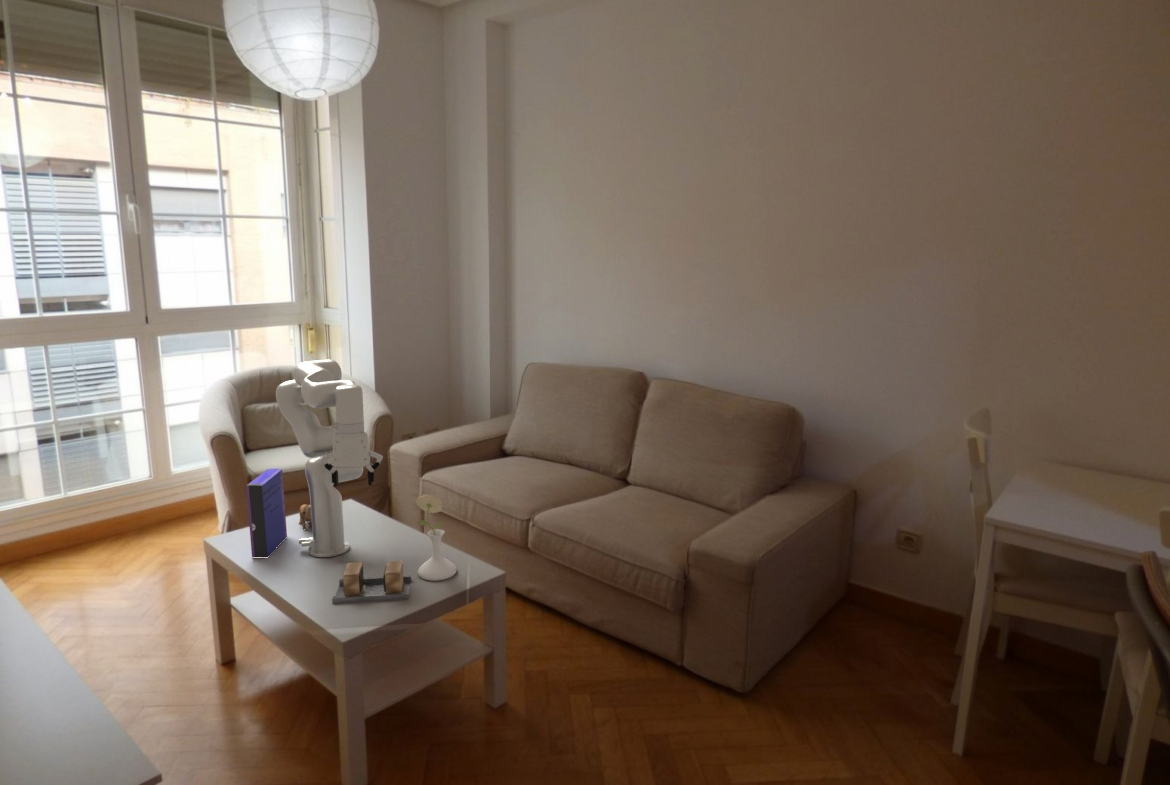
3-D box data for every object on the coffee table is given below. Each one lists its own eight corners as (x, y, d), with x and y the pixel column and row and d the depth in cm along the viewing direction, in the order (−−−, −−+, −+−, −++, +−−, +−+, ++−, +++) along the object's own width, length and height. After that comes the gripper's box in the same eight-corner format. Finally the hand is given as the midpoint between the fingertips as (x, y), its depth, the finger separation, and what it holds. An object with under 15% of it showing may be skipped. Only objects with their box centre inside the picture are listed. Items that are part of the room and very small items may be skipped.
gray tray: (332, 606, 204) (332, 598, 204) (340, 586, 216) (339, 578, 216) (407, 602, 207) (407, 594, 207) (411, 582, 219) (411, 574, 219)
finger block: (344, 598, 207) (343, 574, 205) (349, 585, 214) (347, 562, 213) (360, 597, 207) (359, 574, 206) (364, 585, 215) (363, 562, 214)
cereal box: (272, 537, 253) (267, 468, 248) (287, 537, 253) (282, 468, 248) (252, 558, 235) (246, 485, 231) (267, 558, 236) (261, 485, 231)
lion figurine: (321, 530, 259) (319, 505, 258) (305, 533, 256) (303, 508, 254) (307, 517, 271) (306, 493, 269) (292, 520, 268) (290, 496, 266)
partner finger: (383, 596, 208) (382, 573, 207) (387, 584, 216) (386, 561, 215) (400, 595, 209) (399, 572, 208) (403, 583, 217) (402, 560, 215)
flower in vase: (464, 573, 226) (462, 494, 221) (439, 588, 216) (436, 505, 211) (431, 564, 232) (429, 486, 227) (405, 577, 223) (402, 497, 218)
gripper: (316, 431, 211) (320, 489, 214) (379, 430, 213) (382, 487, 217) (321, 425, 218) (325, 481, 221) (383, 423, 220) (385, 479, 224)
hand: (353, 484), depth 219 cm, fingers open, 9 cm apart
